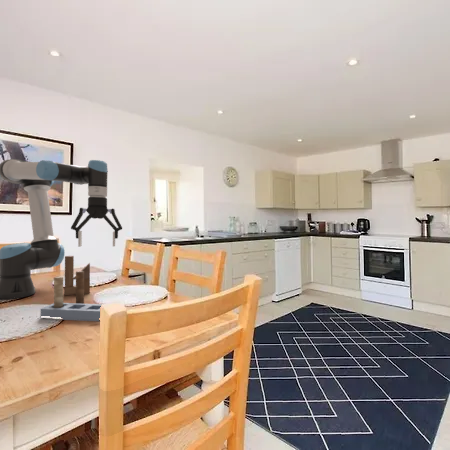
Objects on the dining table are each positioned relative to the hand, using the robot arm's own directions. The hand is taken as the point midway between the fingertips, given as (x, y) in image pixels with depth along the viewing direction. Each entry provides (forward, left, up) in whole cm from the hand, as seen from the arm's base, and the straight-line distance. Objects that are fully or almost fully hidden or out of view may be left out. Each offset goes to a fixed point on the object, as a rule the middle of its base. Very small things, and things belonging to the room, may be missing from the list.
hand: (97, 246), depth 126 cm
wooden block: (-15, +10, -24) cm, 30 cm away
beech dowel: (-4, -20, -24) cm, 31 cm away
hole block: (+3, -20, -24) cm, 31 cm away
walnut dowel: (-3, -8, -24) cm, 25 cm away
